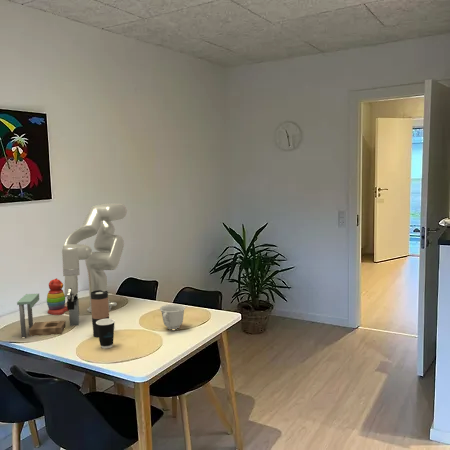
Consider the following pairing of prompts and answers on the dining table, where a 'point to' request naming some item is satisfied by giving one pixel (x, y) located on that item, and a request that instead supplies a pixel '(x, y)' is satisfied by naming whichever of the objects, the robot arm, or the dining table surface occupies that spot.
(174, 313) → the teacup
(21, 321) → the green topped stand
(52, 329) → the socket block
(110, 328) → the dixie cup
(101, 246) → the robot arm
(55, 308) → the rainbow stacking rings
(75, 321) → the peg
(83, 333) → the dining table surface
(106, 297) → the travel mug
